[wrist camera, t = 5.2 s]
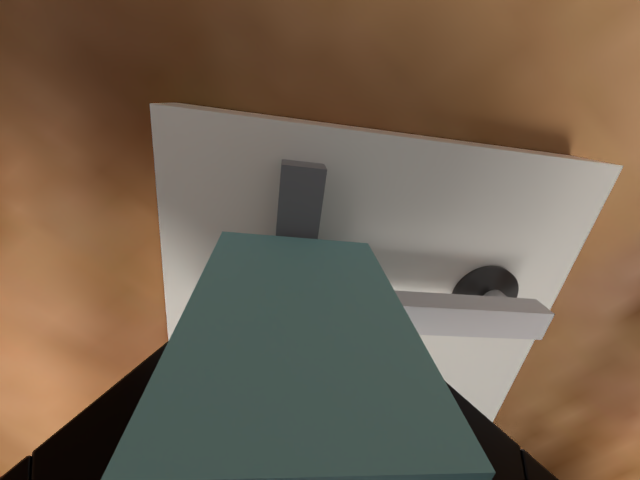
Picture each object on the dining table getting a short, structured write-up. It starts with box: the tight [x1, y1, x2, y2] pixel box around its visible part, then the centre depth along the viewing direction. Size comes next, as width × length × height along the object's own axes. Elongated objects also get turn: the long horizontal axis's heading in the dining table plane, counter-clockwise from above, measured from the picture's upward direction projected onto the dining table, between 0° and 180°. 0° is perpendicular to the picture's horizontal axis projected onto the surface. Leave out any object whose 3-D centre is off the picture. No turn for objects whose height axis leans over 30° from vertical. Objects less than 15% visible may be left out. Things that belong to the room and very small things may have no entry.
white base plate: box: [150, 102, 623, 422], centre depth 11 cm, size 20×14×8 cm
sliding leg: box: [101, 231, 555, 480], centre depth 7 cm, size 4×10×7 cm, turn 83°
